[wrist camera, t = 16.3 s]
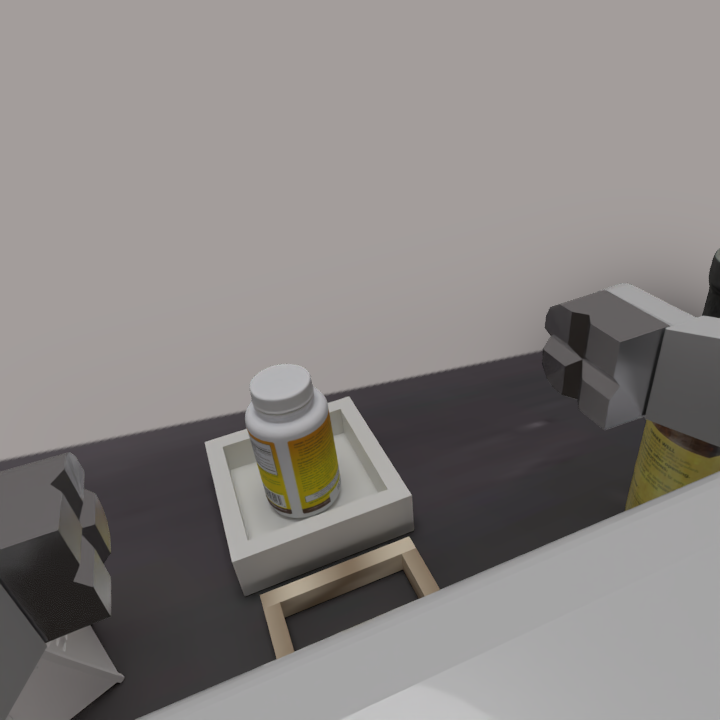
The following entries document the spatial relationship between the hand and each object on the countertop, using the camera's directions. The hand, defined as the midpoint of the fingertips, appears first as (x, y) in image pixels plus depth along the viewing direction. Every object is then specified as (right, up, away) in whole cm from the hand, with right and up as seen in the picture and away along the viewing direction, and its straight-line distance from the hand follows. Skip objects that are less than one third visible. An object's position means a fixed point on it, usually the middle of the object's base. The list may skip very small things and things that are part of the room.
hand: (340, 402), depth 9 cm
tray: (-4, -10, +33) cm, 35 cm away
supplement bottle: (-4, -9, +32) cm, 34 cm away
